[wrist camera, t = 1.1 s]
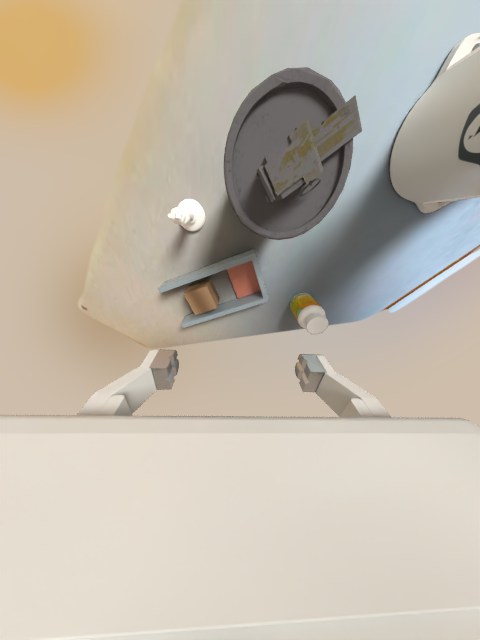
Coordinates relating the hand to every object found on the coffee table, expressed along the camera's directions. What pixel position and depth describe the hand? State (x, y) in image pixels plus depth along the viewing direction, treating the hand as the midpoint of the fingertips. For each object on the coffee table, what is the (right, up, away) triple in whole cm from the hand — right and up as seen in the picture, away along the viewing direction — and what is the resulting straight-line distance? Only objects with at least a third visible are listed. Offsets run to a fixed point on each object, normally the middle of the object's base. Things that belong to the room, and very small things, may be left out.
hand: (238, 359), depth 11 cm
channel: (-5, +10, +26) cm, 28 cm away
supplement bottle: (+14, +7, +28) cm, 33 cm away
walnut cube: (-8, +9, +27) cm, 29 cm away
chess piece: (-9, +21, +19) cm, 30 cm away
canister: (+4, +24, +17) cm, 30 cm away
